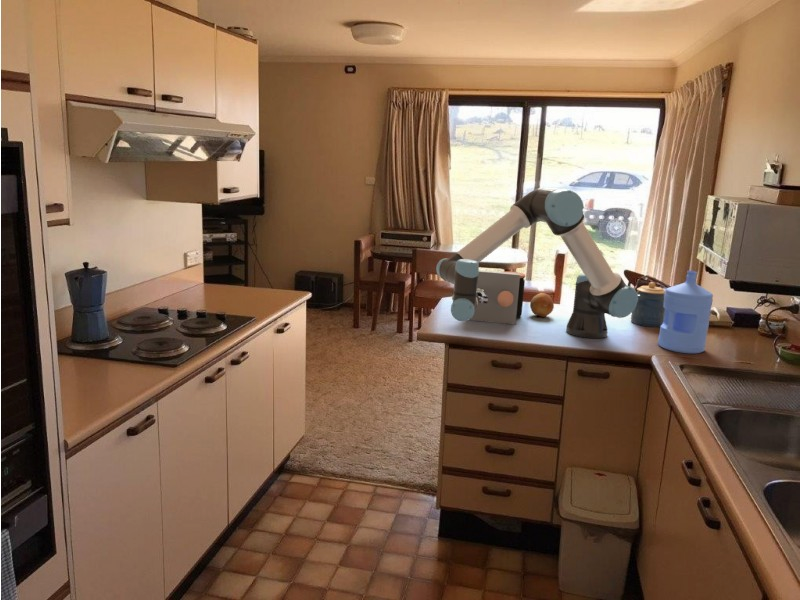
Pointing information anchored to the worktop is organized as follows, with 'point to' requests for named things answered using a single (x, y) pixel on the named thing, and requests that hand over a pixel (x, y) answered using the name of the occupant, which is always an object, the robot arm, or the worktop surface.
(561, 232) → the robot arm
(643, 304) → the canister
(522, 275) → the coffee jar
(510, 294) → the terracotta button
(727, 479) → the worktop surface
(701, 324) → the water jug
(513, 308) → the panel
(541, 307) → the onion
